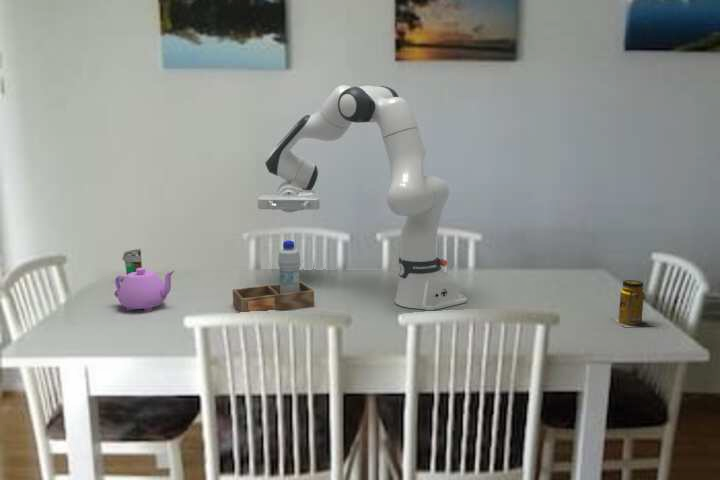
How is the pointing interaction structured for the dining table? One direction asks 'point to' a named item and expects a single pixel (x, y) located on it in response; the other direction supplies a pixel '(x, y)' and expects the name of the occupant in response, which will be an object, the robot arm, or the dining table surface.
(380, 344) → the dining table surface
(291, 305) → the crate
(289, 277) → the bottle
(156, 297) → the teapot
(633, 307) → the condiment
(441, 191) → the robot arm
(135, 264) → the food container
